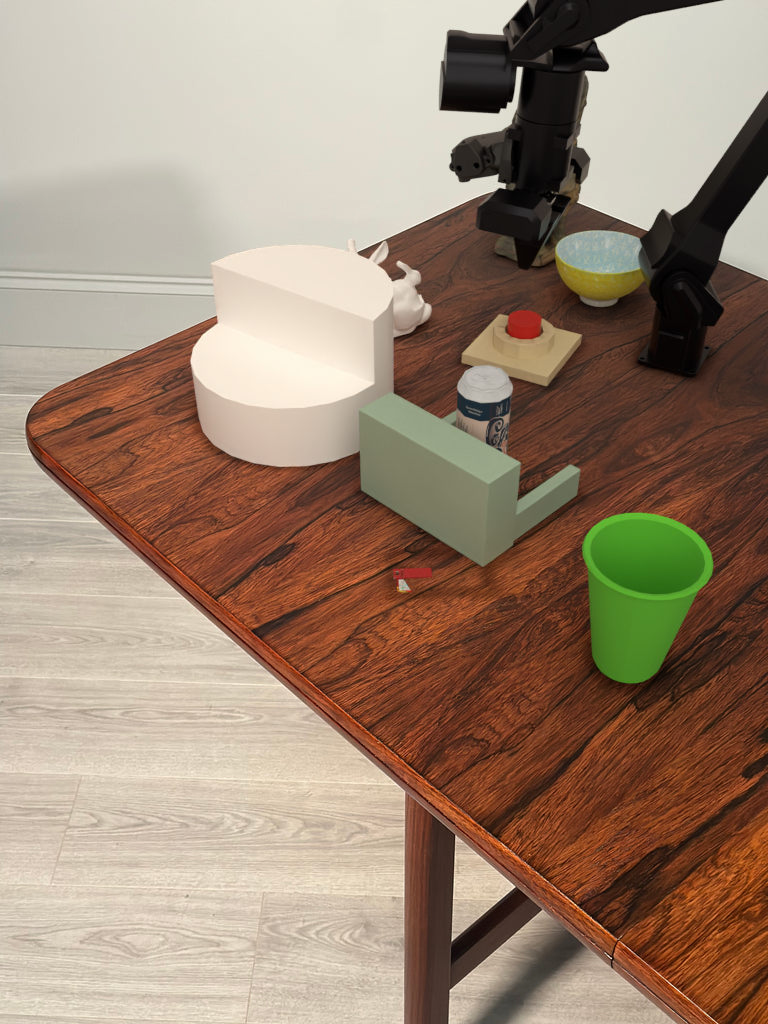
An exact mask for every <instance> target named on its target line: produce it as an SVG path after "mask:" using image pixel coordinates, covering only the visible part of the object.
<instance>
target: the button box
mask: <svg viewBox="0 0 768 1024" xmlns="http://www.w3.org/2000/svg"><path fill="white" fill-rule="evenodd" d="M508 317H509V315H506V314H502V313H499V314H498V315H497V316H496V317H495V318H494V319H493V320H492V321H491V323H489V324H488V326H487V327H486V328H485V329H484V330H483V331H482V332H481V333H480V334H479V335H478V336H477V337H476V338H475V339H474V340H473V341H472V342H471V343H470V344H469V345H468V347H466V349H465V350H464V351H463V352H462V353H461V364H463V365H467V366H472V367H474V366H484V365H490V366H493V367H497V368H500V369H502V370H503V371H504V372H505V373H506V374H507V375H508V377H510V378H515V379H518V380H522V381H526V382H528V383H532V384H536V385H540V386H544V387H548V386H549V384H550V383H551V382H552V381H553V380H554V378H555V377H556V376H557V375H558V373H559V372H560V371H561V369H562V368H563V367H564V366H565V365H566V363H567V362H568V361H569V360H570V358H571V357H572V356H573V355H574V353H575V352H576V351H577V350H578V348H579V347H580V346H581V344H582V337H583V335H582V334H580V333H576V332H573V331H570V330H569V331H568V330H565V329H561V328H558V327H554V326H553V324H552V323H550V322H549V321H547V320H546V319H545V318H542V322H541V332H540V335H539V337H537V338H534V339H518V338H514V337H511V336H510V335H508V333H507V326H508Z"/></svg>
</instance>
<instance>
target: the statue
mask: <svg viewBox="0 0 768 1024" xmlns="http://www.w3.org/2000/svg"><path fill="white" fill-rule="evenodd" d="M578 45H579V44H578ZM589 89H590V82H589V79H588V76H587V74H585V77H584V83H583V89H582V95H581V101H580V107H579V113H578V119H577V123H579V124H581V121H582V119H583V118H582V117H583V114H584V110H585V108H586V106H587V104H588V102H587V98H588V93H589ZM516 113H517V109H516V110H515V112H514V114H513V117H512V120H511V123H510V124H509V125H508V126H506V127H504V128H503V129H502V130H501V131H506V130H507V129H508V128H509V127H510V126H511V125H512V124H513V123H514V122H515V121H516ZM573 146H574V147H578V137H577V138H576V139H575V140H574V143H573ZM575 175H576V174H575V173H573V176H572V177H571V179H570V180H569V181H568V182H567V184H566V185H565V186H564V188H563V189H562V190H561V191H560V193H558V194H561V195H566V196H569V197H571V202H570V203H569V205H568V206H567V208H566V210H565V211H564V213H563V215H562V216H561V218H560V219H559V221H558V223H557V224H556V226H555V228H554V229H553V231H552V233H551V234H550V236H549V237H548V239H547V241H546V242H545V244H544V246H543V247H542V249H541V251H540V252H539V254H538V256H537V257H536V259H535V261H534V262H533V264H532V266H531V267H543V266H546V265H548V264H550V263H552V262H554V261H556V259H555V248H556V245H557V244H558V242H559V241H560V240H561V239H563V238H565V237H566V236H567V235H566V223H567V219H568V215H569V211H570V210H571V209H572V206H573V205H575V204H577V203H578V202H579V200H580V194H581V191H582V184H576V182H575ZM514 187H515V184H513V183H510V184H505V188H504V189H508V190H512V189H513V188H514ZM495 245H496V246H498V247H501V248H502V249H505V250H508V251H511V252H514V253H515V254H514V253H511V252H508V251H505V250H502V249H499V248H496V247H495ZM493 252H494V253H495V254H497V255H499V256H504V257H506V258H508V259H510V260H513V261H515V262H517V256H516V250H515V243H514V238H513V237H509V236H504V235H500V237H498V238H497V239H496V241H495V244H494V248H493Z"/></svg>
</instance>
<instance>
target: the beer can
mask: <svg viewBox="0 0 768 1024" xmlns="http://www.w3.org/2000/svg"><path fill="white" fill-rule="evenodd" d="M456 389H457V390H456V391H457V395H456V410H457V414H456V428H458V429H460V430H462V431H464V432H466V433H467V434H469V435H471V436H473V437H475V438H477V439H479V440H480V441H482V442H484V443H486V444H488V445H490V446H491V447H493V448H495V449H497V450H499V451H501V452H502V453H504V454H506V455H508V444H509V431H510V420H511V407H512V395H513V390H514V385H513V382H512V381H511V379H510V376H508V375H507V374H506V373H505V372H504V371H503V370H502V369H500V368H497V367H493V366H490V365H484V366H472V367H470V368H469V369H466V370H465V371H464V373H463V375H462V376H461V377H460V379H459V380H458V382H457V386H456Z"/></svg>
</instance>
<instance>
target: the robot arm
mask: <svg viewBox="0 0 768 1024" xmlns="http://www.w3.org/2000/svg"><path fill="white" fill-rule="evenodd" d="M723 1H724V0H525V2H524V3H523V4H522V5H521V6H520V7H519V8H518V10H516V12H515V13H514V14H513V15H512V17H511V18H510V19H509V20H508V22H507V23H506V24H505V25H503V28H502V34H495V33H494V34H492V33H476V32H475V33H474V32H468V31H465V30H462V29H448V30H447V31H446V39H445V45H444V50H443V59H442V60H441V61H440V69H439V82H438V83H439V85H438V86H439V87H438V111H439V112H440V111H442V112H458V113H459V112H460V113H477V114H478V113H479V114H493V115H494V114H496V115H500V112H501V110H502V109H503V110H506V109H507V107H508V103H509V104H512V103H513V101H514V97H515V91H516V85H517V84H516V83H517V74H518V68H522V69H521V76H520V84H519V90H518V98H517V99H518V100H517V107H516V110H517V113H516V121H515V122H514V123H513V124H512V123H511V124H512V125H511V124H510V125H511V126H510V127H509V128H508V129H507V130H506V131H502V130H498V131H493V132H488V133H481V134H476V135H471V136H468V137H466V138H465V137H464V138H463V139H462V140H461V141H460V142H459V143H457V144H456V145H455V146H454V147H453V148H452V149H451V152H450V155H449V156H450V163H449V164H448V168H449V170H450V172H453V173H454V174H455V176H456V177H457V179H458V182H459V183H469V182H470V181H471V180H476V179H482V178H489V177H493V176H497V175H498V176H497V183H500V184H505V185H506V184H510V183H513V184H515V187H514V188H513V189H512V190H508V189H506V188H503V187H498V188H497V189H495V190H494V191H492V192H491V193H490V194H488V195H487V197H486V198H485V199H484V200H483V201H482V202H481V203H480V204H479V205H478V206H477V208H476V218H475V228H477V229H478V230H479V231H483V232H486V233H492V234H495V235H500V236H501V235H504V236H509V237H513V238H514V243H515V250H516V256H517V261H516V263H517V267H518V269H520V270H523V271H529V270H530V268H531V267H533V266H532V264H533V262H534V261H535V259H536V257H537V256H538V254H539V252H540V251H541V249H542V247H543V246H544V244H545V242H546V241H547V239H548V237H549V236H550V234H551V233H552V231H553V229H554V228H555V226H556V224H557V223H558V221H559V219H560V218H561V216H562V215H563V213H564V211H565V210H566V208H567V206H568V205H569V203H570V202H571V197H569V196H566V195H561V194H558V193H560V191H561V190H562V189H563V188H564V186H565V185H566V184H567V182H568V181H569V180H570V179H571V177H572V176H573V173H575V174H576V175H575V182H576V184H581V185H582V184H583V183H584V181H585V180H586V179H587V178H588V175H589V170H590V165H591V157H590V156H589V154H588V153H587V151H586V150H585V148H584V147H578V146H577V147H574V146H573V143H574V140H575V139H576V138H577V139H578V137H579V136H580V134H581V128H582V123H580V124H579V123H577V119H578V113H579V107H580V101H581V95H582V89H583V83H584V77H585V75H586V72H597V73H606V72H608V71H609V69H610V64H609V62H608V60H607V58H606V56H605V54H604V53H603V52H602V51H601V50H600V49H599V46H598V43H597V41H596V40H595V39H597V38H599V37H602V36H605V35H607V34H609V33H611V32H612V31H615V30H616V29H618V28H619V27H621V26H623V25H624V24H626V23H628V22H630V21H633V20H635V19H638V18H641V17H644V16H648V15H654V14H660V13H664V12H665V13H666V12H670V11H675V10H680V9H685V8H690V7H691V8H692V7H696V6H702V5H707V4H713V3H717V2H723ZM578 44H579V45H578ZM767 178H768V90H767V91H766V92H765V94H764V95H763V97H762V98H761V100H760V101H759V102H758V104H757V105H756V106H755V108H754V110H753V111H752V113H751V114H750V115H749V117H748V118H747V120H746V121H745V123H744V124H743V125H742V127H741V129H740V130H739V131H738V133H737V134H736V136H735V137H734V139H733V140H732V142H731V143H730V144H729V146H728V147H727V149H726V150H725V152H724V153H723V154H722V156H721V158H720V159H719V160H718V162H717V163H716V165H715V166H714V168H713V169H712V170H711V172H710V174H709V175H708V176H707V178H706V179H705V181H704V182H703V183H702V185H701V186H700V188H699V189H698V191H697V193H696V194H695V195H694V196H693V198H692V200H691V201H690V202H689V203H688V204H687V205H686V206H685V207H683V208H682V209H680V210H678V211H677V212H675V213H673V214H671V213H670V212H669V211H668V210H666V209H665V208H661V209H660V210H659V212H658V213H657V214H656V217H655V219H654V222H653V223H652V225H651V227H650V228H649V229H648V231H647V232H646V233H645V234H644V235H642V236H641V237H640V239H639V240H640V243H641V245H642V247H641V249H640V251H639V255H638V259H639V266H640V270H641V272H642V275H643V277H644V283H645V285H646V287H647V289H648V293H649V294H650V296H651V298H652V299H653V301H654V302H655V308H654V315H653V321H652V326H651V331H650V338H649V340H648V342H647V343H646V345H645V346H644V348H643V349H642V351H641V352H640V354H639V355H638V356H637V360H636V363H637V364H639V365H644V366H646V367H647V366H648V367H650V368H654V369H658V370H663V371H666V372H669V373H674V374H678V375H682V376H685V377H689V378H696V377H697V376H698V374H699V373H700V370H701V369H702V367H703V366H704V364H705V362H706V361H707V359H708V357H709V356H710V354H711V352H712V347H711V346H710V345H706V344H705V343H706V338H707V334H708V329H709V327H715V326H716V325H717V323H718V321H720V318H721V317H722V316H723V314H724V312H725V308H724V305H723V304H722V302H721V300H720V298H719V296H718V294H717V292H716V290H715V287H714V286H713V284H712V282H711V279H712V277H713V275H714V273H715V271H716V268H717V267H718V264H719V260H720V257H721V254H722V250H723V247H724V243H725V239H726V236H727V234H728V232H729V230H730V229H731V228H732V226H733V225H734V223H735V222H736V220H737V219H738V218H739V217H740V215H741V214H742V212H743V211H744V209H745V208H746V207H747V205H748V204H749V203H750V201H751V200H752V198H753V197H754V196H755V195H756V193H757V192H758V190H759V189H760V187H761V186H762V185H763V184H764V182H765V181H766V179H767Z"/></svg>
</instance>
